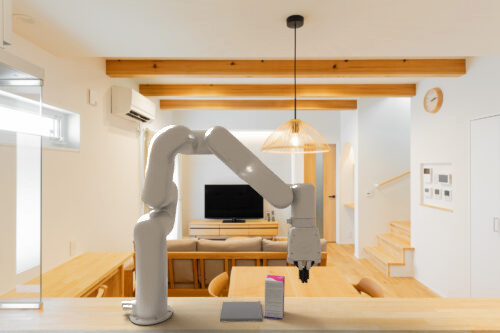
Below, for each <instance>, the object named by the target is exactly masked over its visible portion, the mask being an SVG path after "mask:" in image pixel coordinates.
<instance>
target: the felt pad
mask: <svg viewBox="0 0 500 333" xmlns="http://www.w3.org/2000/svg"><path fill="white" fill-rule="evenodd" d="M262 316H263V314H262V307H261V301H222V306H221V312H220V316H219V317H220V318H219V321H220V322H262V321H263V317H262Z"/></svg>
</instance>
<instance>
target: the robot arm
mask: <svg viewBox="0 0 500 333" xmlns="http://www.w3.org/2000/svg"><path fill="white" fill-rule="evenodd" d="M177 154H181V155H185V156H187V155H188V156H191V155H195V156H196V155H199V156H200V155H208V156H209V155H214V156H215V157H216V158H217V159H218V160H220V161H221V162H222V163H224V165H225V166H226V167H228V168H229V170H231V171H232V173H234V174H235V175H236V176H237V177H238V178H239V179H240V180H242V181H244V182H245V183H246V184H248V185H249V186H250V187H251V188H252V189H253V190H254V191H256V192H257V193H258V194H259V195H260V196H261V197H262V198H264V200H265V201H266V202H267V203H269V204H270V205H271V206H272V207H273V208H275V209H278V210H283V209H287V208H289V207H290V218H287V219H286V224H289V225H290V226H289V227H288V232H287V243H286V256H287V257H286V263H287V264H291V265H294V266H295V267H297V268H298V279H299V280H300V281H301V284H308V280H310V270H311V268H312V267H313V266H314V265H316V264H320V263H321V262H322V244H321V236H320V231H319V230H320V229H319V227H318V226H316V187H315V186H314V184H312V183H307V182H305V183H304V182H303V183H300V182H299V183H293V184H292V183H286V182H285V181H283V180H282V178H280V176H278V175H277V174H276V173H275V172H274V171H272V170H271V169H270V168H269V167H268V166H267V165H266V164H265V163H264V162H263V161H262V160H261V159H260V158H259V157H258V156H257V155H256V154H254V152H252V150H250V149H249V148H248V147H247V146H245V144H243V143H242V142H241V141H240V140H239V139H238V138H237V137H236V136H235V135H234V134H233V133H232V132H230V131H229V130H228V129H227V128H225V127H224V126H220V125H214V126H211V127H210V128H208V129H206V130H205V129H201V130H200V129H199V130H198V129H195V130H194V129H190V128H189V127H187V126H185V125H181V124H172V125H169V126H165V127H164V128H162V129H160V130H159V131H158V132H157V133H156V134H154V136H153V137H152V138H151V141H150V143H149V146H148V151H147V158H146V164H145V172H144V178H143V179H144V180H143V184H142V191H141V199H142V202H143V204H144V205H145V206H146V207H148V208H147V213H145V214H143V215H142V216H141V217H139V218H138V220H137V221H135V222H136V223H135V224H134V227H133V243H134V252H135V253H134V254H135V296H134V297H135V299H133V300H132V301H131V300H124V301H122V302H121V307H122V310H123V311H130V313H129V320H130V322H132V323H134V324H136V325H144V326H145V325H146V326H148V325H154V324H155V325H156V324H158V323H162V322H165V321H167V320H168V319H169V318H170V317H172V315H173V307H172V306H171V305H169V304H168V298H169V296H168V286H169V285H168V283H169V282H168V276H169V275H168V274H169V272H168V271H169V270H168V269H169V265H168V264H169V263H168V262H169V261H168V260H169V258H168V255H169V254H168V253H169V252H168V243H167V242H168V241H167V237H168V236H169V235H170V233H171V232H172V231H173V229H174V226H175V222H176V215H177V209H178V208H177V206H178V200H179V199H178V198H179V189H178V186H177V184H176V183H175V181H173V180H174V173H175V168H176V167H175V162H176V161H175V159H176V157H177ZM303 262H305V263H304V266H303Z"/></svg>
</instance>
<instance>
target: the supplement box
mask: <svg viewBox="0 0 500 333" xmlns="http://www.w3.org/2000/svg"><path fill="white" fill-rule="evenodd" d="M285 279H286V278H285V276H284V275H274V274H267V275H266V278H265V280H264V302H263V304H264V306H263V307H264V309H263V310H264V312H263V313H264V314H263V319H269V320H270V319H272V320H273V319H274V320H281V321H282V320H283V316H284V313H285Z"/></svg>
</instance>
